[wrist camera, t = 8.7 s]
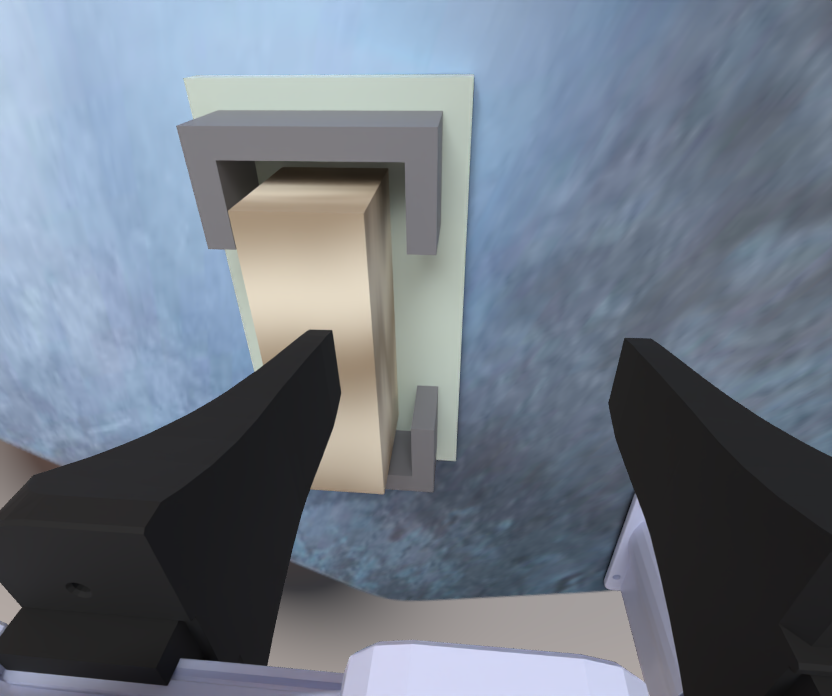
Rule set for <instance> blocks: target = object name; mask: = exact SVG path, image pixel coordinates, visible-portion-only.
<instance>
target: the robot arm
mask: <svg viewBox="0 0 832 696" xmlns="http://www.w3.org/2000/svg"><path fill="white" fill-rule="evenodd" d="M340 397H341V387H340V380H339V373H338V366H337V359H336V352H335V345H334V338H333V331H332V330H310V329H309V330H308V331H306V332H305V333H304V334H302V335H301V336H300V337H298V338H297V339H296V340H295V341H293V342H292V343H291V344H290V345H288V346H287V347H286V348H285V349H283V350H282V351H281V352H280V353H278V354H277V355H276V356H275V357H273V358H272V359H271V360H269V361H268V362H267V363H266V364H264V365H263V366H262V367H260V368H259V369H258V370H256V371H255V372H254V373H252V374H251V375H249V376H248V377H247V378H245V379H244V380H242V381H241V382H239V383H238V384H237V385H235V386H234V387H232V388H231V389H230V390H228V391H227V392H225V393H223V394H222V395H220V396H219V397H217V398H216V399H214V400H212V401H211V402H209V403H207V404H205V405H204V406H202V407H200V408H198V409H197V410H195V411H193V412H191V413H190V414H188V415H186V416H184V417H182V418H180V419H178V420H176V421H174V422H172V423H170V424H168V425H165V426H163V427H161V428H159V429H157V430H155V431H153V432H151V433H149V434H147V435H145V436H142V437H140V438H138V439H135V440H133V441H130V442H128V443H126V444H123V445H121V446H118V447H115V448H113V449H110V450H108V451H105V452H103V453H100V454H97V455H94V456H92V457H89V458H86V459H83V460H80V461H77V462H74V463H70V464H67V465H64V466H61V467H58V468H55V469H52V470H49V471H46V472H43V473H39V474H36V475H33V476H32V478H30V480H29V481H28V482H27V483H26V484H25V485H24V486H23V487H22V488H21V489H20V490H19V491H18V492H17V493H16V494H15V495H14V496H13V497H12V499H10V500H9V502H8V503H7V504H6V505H5V506H4V507H3V508H2V509H1V510H0V583H1V584H2V585H3V586H4V587H5V588H6V590H8V592H9V593H10V594H11V595H12V596H13V598H14V599H15V600H16V601H17V602H18V603H19V604H20V606H21V607H22V608H21V610H20V611H19V612H18V613H17V615H16V616H15V617H14V619H13V620H12V621H11V623H10V624H9V625H7V624H6V623H4V622H2V621H0V696H649V695H650V696H832V457H831V456H829V455H827V454H825V453H822V452H821V451H819V450H817V449H815V448H813V447H811V446H809V445H807V444H805V443H803V442H802V441H800V440H798V439H796V438H795V437H793V436H791V435H789V434H788V433H786V432H784V431H782V430H781V429H779V428H777V427H775V426H774V425H772V424H770V423H769V422H767V421H765V420H764V419H762V418H761V417H759V416H757V415H756V414H754V413H753V412H751V411H750V410H748V409H747V408H745V407H744V406H742V405H741V404H739V403H738V402H736V401H735V400H733V399H732V398H730V397H729V396H728V395H726V394H725V393H723V392H722V391H720V390H719V389H718V388H716V387H715V386H714V385H712V384H711V383H710V382H708V381H707V380H706V379H704V378H703V377H702V376H700V375H699V374H698V373H696V372H695V371H694V370H692V369H691V368H690V367H688V366H687V365H686V364H685V363H683V362H682V361H681V360H679V359H678V358H677V357H676V356H674V355H673V354H672V353H670V352H669V351H668V350H666V349H665V348H664V347H662V346H661V345H660V344H658V343H657V342H655V341H654V340H652V339H645V338H624V342H623V346H622V350H621V354H620V358H619V363H618V367H617V371H616V375H615V379H614V383H613V387H612V391H611V395H610V399H609V403H608V404H609V409H610V414H611V419H612V424H613V429H614V433H615V438H616V441H617V444H618V447H619V450H620V452H621V455H622V458H623V461H624V464H625V466H626V469H627V472H628V474H629V477H630V480H631V483H632V485H633V488H634V491H635V494H634V497H633V500H632V503H631V506H630V509H629V511H628V514H627V517H626V520H625V523H624V526H623V528H622V531H621V534H620V537H619V540H618V542H617V545H616V548H615V551H614V554H613V557H612V559H611V562H610V565H609V568H608V571H607V573H606V576H605V579H604V584H605V587H606V588H607V589H609V590H618V591H621V593H622V597H623V600H624V604H625V608H626V612H627V616H628V620H629V624H630V628H631V632H632V635H633V639H634V643H635V647H636V651H637V655H638V659H639V662H640V666H641V670H642V674H643V678H644V682H643V681H642V680H641V679H639V678H638V677H637V676H635V675H634V674H632V673H631V672H629V671H628V670H626V669H625V668H624V667H622V666H620V665H619V664H618V663H616V662H613V661H609V660H604V659H600V658H595V657H591V656H586V655H582V654H572V653H560V652H548V651H537V650H525V649H514V648H502V647H490V646H479V645H467V644H466V645H465V644H454V643H444V642H431V641H419V640H398V641H379V642H377V643H375V644H373V645H370V646H368V647H366V648H364V649H362V650H360V651H357V652H356V653H354V654H353V655H351V656H350V658H349V660H348V663H347V666H346V669H345V672H344V673H336V672H325V671H315V670H304V669H293V668H283V667H282V668H281V667H272V666H267V664H268V659H269V654H270V648H271V643H272V638H273V633H274V628H275V624H276V619H277V614H278V610H279V605H280V600H281V596H282V591H283V586H284V583H285V578H286V574H287V570H288V566H289V562H290V558H291V553H292V549H293V545H294V541H295V538H296V534H297V530H298V526H299V522H300V518H301V515H302V511H303V508H304V505H305V502H306V499H307V496H308V494H309V491H310V488H311V486H312V483H313V481H314V478H315V475H316V473H317V470H318V467H319V465H320V462H321V460H322V457H323V454H324V452H325V449H326V446H327V444H328V441H329V438H330V436H331V433H332V430H333V427H334V424H335V420H336V416H337V411H338V407H339V402H340ZM648 692H649V694H648Z"/></svg>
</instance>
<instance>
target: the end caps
mask: <svg viewBox="0 0 832 696" xmlns="http://www.w3.org/2000/svg"><path fill="white" fill-rule="evenodd" d="M183 79H184V83H185V87H186V91H187V95H188V99H189V104H190V108H191V112H192V116H193V120H191V121H188V122H185V123H183V124H180V125H177V126H176V127H177V130H178V134H179V138H180V142H181V146H182V150H183V153H184V157H185V161H186V165H187V169H188V172H189V176H190V180H191V184H192V188H193V192H194V195H195V199H196V203H197V207H198V211H199V215H200V218H201V222H202V226H203V230H204V234H205V237H206V241H207V245H208V249H225V252H226V256H227V260H228V265H229V269H230V273H231V277H232V281H233V285H234V289H235V293H236V298H237V302H238V306H239V310H240V314H241V318H242V322H243V326H244V331H245V335H246V339H247V343H248V347H249V351H250V355H251V360H252V364H253V368H254V372H255V371H256V370H258V369H259V368H260V367H262V366H263V362H262V358H261V354H260V349H259V345H258V340H257V336H256V332H255V327H254V323H253V319H252V314H251V310H250V306H249V301H248V297H247V292H246V288H245V284H244V279H243V275H242V271H241V266H240V262H239V258H238V253H237V249H236V244H235V240H234V236H233V231H232V227H231V223H230V218H229V214H228V210H230V209H231V208H232V207H233V206H234V205H236V204H237V203H238V202H239V201H241V200H242V199H243V198H244V197H246V196H247V195H248V194H249V193H251V192H252V191H253V190H254V189H256V188H257V187H258V186H259V185H261V184H262V183H263V182H264V181H266V180H267V179H268V178H269V177H271V176H272V175H273V174H274V173H276V172H277V171H278V170H279V169H281V168H282V167H326V168H388V173H389V196H390V219H391V243H392V266H393V290H394V313H395V337H396V360H397V384H398V407H399V416H398V422H397V427H396V433H395V438H394V444H393V449H392V454H391V460H390V465H389V471H388V476H387V482H386V487H385V489H392V490H407V491H422V492H434V479H435V467H436V460H446V461H456V444H457V423H458V402H459V381H460V360H461V339H462V318H463V297H464V275H465V254H466V233H467V212H468V191H469V170H470V149H471V128H472V107H473V85H474V74H436V75H196V76H192V77H187V78H183Z"/></svg>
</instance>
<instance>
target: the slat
mask: <svg viewBox="0 0 832 696" xmlns="http://www.w3.org/2000/svg"><path fill="white" fill-rule="evenodd" d="M228 214H229V218H230V223H231V227H232V231H233V236H234V240H235V244H236V249H237V253H238V258H239V262H240V266H241V271H242V275H243V279H244V284H245V288H246V292H247V297H248V301H249V306H250V310H251V314H252V319H253V323H254V327H255V332H256V336H257V340H258V345H259V349H260V354H261V358H262V362H263V365H264V364H266V363H267V362H268V361H269V360H271V359H272V358H273V357H275V356H276V355H277V354H278V353H280V352H281V351H282V350H283V349H285V348H286V347H287V346H288V345H290V344H291V343H292V342H293V341H295V340H296V339H297V338H298V337H300V336H301V335H302V334H304V333H305V332H306V331H308V330H309V329H310V330H332V331H333V338H334V345H335V352H336V359H337V366H338V373H339V380H340V387H341V397H340V402H339V407H338V411H337V416H336V420H335V424H334V427H333V430H332V433H331V436H330V438H329V441H328V444H327V446H326V449H325V452H324V454H323V457H322V460H321V462H320V465H319V467H318V470H317V473H316V475H315V478H314V481H313V483H312V486H311V488H310V489H314V490H328V491H343V492H358V493H373V494H384V493H385V487H386V482H387V476H388V471H389V465H390V460H391V454H392V449H393V444H394V438H395V433H396V427H397V422H398V416H399V407H398V384H397V360H396V337H395V313H394V290H393V266H392V243H391V219H390V196H389V173H388V168H326V167H282V168H281V169H279V170H278V171H277V172H276V173H274V174H273V175H272V176H271V177H269V178H268V179H267V180H266V181H264V182H263V183H262V184H261V185H259V186H258V187H257V188H256V189H254V190H253V191H252V192H251V193H249V194H248V195H247V196H246V197H244V198H243V199H242V200H241V201H239V202H238V203H237V204H236V205H234V206H233V207H232V208H231V209H230V210H228Z"/></svg>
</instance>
